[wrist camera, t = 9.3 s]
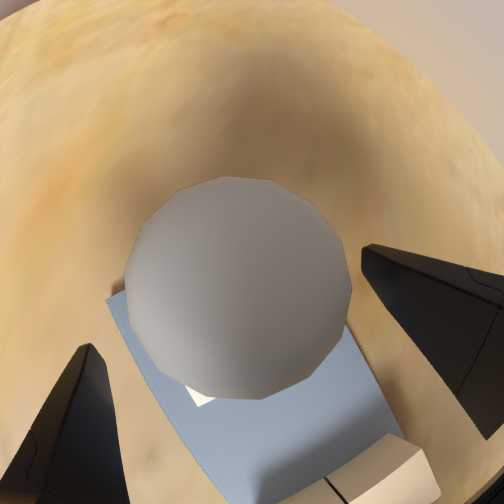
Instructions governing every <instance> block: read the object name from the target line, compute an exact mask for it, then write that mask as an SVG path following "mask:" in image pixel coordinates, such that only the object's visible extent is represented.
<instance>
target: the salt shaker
mask: <svg viewBox="0 0 504 504" xmlns="http://www.w3.org/2000/svg"><path fill="white" fill-rule="evenodd" d="M124 282H125V291H126V300H127V308H128V316H129V323H130V326H131V328H132V329H133V331H134V332H135V334H136V336H137V337H138V339H139V341H140V342H141V344H142V345H143V347H144V349H145V350H146V352H147V353H148V355H149V356H150V358H151V359H152V361H153V362H154V364H155V365H156V367H157V368H158V370H159V371H161V372H163V373H164V374H166V375H168V376H170V377H171V378H173V379H175V380H177V381H178V382H180V383H182V384H184V385H185V386H187V387H189V388H191V389H193V390H195V391H196V392H198V393H200V394H202V395H204V396H206V397H215V398H229V399H248V400H262V399H264V398H267V397H269V396H271V395H273V394H276V393H278V392H280V391H282V390H284V389H286V388H289V387H291V386H293V385H295V384H297V383H299V382H301V381H303V380H305V379H307V378H309V377H310V376H311V375H312V374H313V372H314V371H315V370H316V369H317V368H318V367H319V365H320V364H321V363H322V362H323V361H324V359H325V358H326V357H327V356H328V354H329V353H330V352H331V351H332V350H333V348H334V347H335V346H336V345H337V343H338V342H339V341H340V339H341V338H342V335H343V331H344V326H345V322H346V317H347V312H348V308H349V303H350V298H351V293H352V285H351V280H350V276H349V271H348V266H347V262H346V257H345V253H344V248H343V244H342V241H341V239H340V238H339V237H338V236H337V234H336V233H335V232H334V230H333V229H332V228H331V226H330V225H329V224H328V223H327V221H326V220H325V219H324V217H323V216H322V215H321V214H320V212H319V211H318V210H317V209H316V207H315V206H314V205H313V204H312V203H311V202H309V201H307V200H306V199H304V198H302V197H300V196H299V195H297V194H295V193H293V192H292V191H290V190H288V189H286V188H284V187H283V186H281V185H279V184H277V183H275V182H274V181H272V180H267V179H256V178H244V177H230V176H221V177H218V178H215V179H212V180H209V181H206V182H203V183H200V184H197V185H194V186H191V187H188V188H185V189H182V190H179V191H177V192H176V193H174V194H173V195H172V196H171V197H170V198H169V199H168V200H167V201H166V202H165V203H164V204H163V205H162V206H161V207H160V208H159V209H158V210H157V211H156V212H155V213H154V214H153V215H152V216H151V217H150V218H149V219H148V220H147V221H146V222H145V223H144V224H143V225H142V226H141V229H140V231H139V234H138V236H137V239H136V241H135V244H134V246H133V249H132V252H131V254H130V257H129V259H128V262H127V265H126V268H125V270H124Z"/></svg>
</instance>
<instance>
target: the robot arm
mask: <svg viewBox="0 0 504 504" xmlns="http://www.w3.org/2000/svg"><path fill="white" fill-rule="evenodd" d="M361 270H362V273H363V275H364V276H365V278H366V279H367V281H368V282H369V284H370V285H371V287H372V288H373V290H374V291H375V293H376V294H377V296H378V297H379V299H380V300H381V302H382V303H383V304H384V306H385V307H386V308H387V310H388V311H389V312H390V313H391V315H392V316H393V317H394V318H395V320H396V321H397V322H398V323H399V324H400V326H401V327H402V328H403V329H404V331H405V332H406V333H407V334H408V336H409V337H410V338H411V339H412V341H413V342H414V343H415V344H416V346H417V347H418V348H419V349H420V351H421V352H422V353H423V355H424V356H425V357H426V358H427V360H428V361H429V362H430V364H431V365H432V366H433V367H434V369H435V370H436V371H437V373H438V374H439V375H440V377H441V378H442V379H443V381H444V382H445V383H446V385H447V386H448V387H449V389H450V390H451V392H452V393H453V394H454V395H455V397H456V399H457V400H458V401H459V403H460V404H461V406H462V407H463V408H464V410H465V411H466V413H467V414H468V415H469V417H470V418H471V420H472V421H473V423H474V424H475V426H476V427H477V428H478V430H479V431H480V433H481V434H482V436H483V437H484V438H485V440H488V439H489V438H490V437H491V436H492V435H493V434H494V433H495V432H496V431H497V430H498V429H499V427H500V426H501V425H502V424H503V423H504V276H503V275H498V274H494V273H489V272H485V271H481V270H477V269H473V268H469V267H464V266H462V265H458V264H454V263H450V262H446V261H442V260H438V259H435V258H431V257H427V256H423V255H419V254H415V253H411V252H407V251H402V250H398V249H394V248H390V247H386V246H382V245H377V244H370V245H367V246H365V247H363V248H362V252H361ZM0 504H130V500H129V496H128V491H127V486H126V481H125V476H124V471H123V465H122V459H121V453H120V446H119V440H118V432H117V424H116V416H115V408H114V403H113V398H112V393H111V388H110V383H109V377H108V372H107V366H106V363H105V361H104V359H103V358H102V357H101V355H100V354H99V352H98V351H97V350H96V348H95V347H94V346H93V344H91V343H87V344H84V345H81V346H79V347H78V349H77V350H76V352H75V353H74V355H73V356H72V358H71V360H70V361H69V363H68V364H67V366H66V368H65V369H64V371H63V372H62V374H61V376H60V377H59V379H58V381H57V382H56V384H55V386H54V387H53V389H52V391H51V392H50V394H49V396H48V397H47V399H46V401H45V402H44V404H43V406H42V408H41V409H40V411H39V413H38V415H37V417H36V418H35V420H34V422H33V424H32V426H31V430H29V431H28V433H27V435H26V437H25V439H24V440H23V442H22V444H21V446H20V448H19V450H18V451H17V453H16V455H15V456H14V458H13V460H12V462H11V463H10V465H9V467H8V468H7V470H6V472H5V473H4V475H3V477H2V478H1V480H0ZM464 504H504V466H503V467H502V468H501V469H500V470H499V471H498V472H497V473H496V474H495V475H494V476H493V477H492V478H491V479H490V480H489V481H488V482H487V483H486V484H485V485H484V486H483V487H482V488H481V489H480V490H479V491H478V492H476V493H475V494H474V495H473V496H472V497H471V498H470V499H469V500H467V501H466V502H465V503H464Z"/></svg>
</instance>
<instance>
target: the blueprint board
mask: <svg viewBox="0 0 504 504" xmlns="http://www.w3.org/2000/svg"><path fill="white" fill-rule="evenodd" d="M106 302H107V304H108V307H109V309H110V311H111V313H112V316H113V318H114V320H115V322H116V324H117V326H118V329H119V331H120V333H121V335H122V337H123V339H124V341H125V343H126V345H127V347H128V349H129V351H130V353H131V355H132V357H133V359H134V361H135V363H136V364H137V366H138V368H139V370H140V372H141V374H142V376H143V377H144V379H145V381H146V383H147V385H148V386H149V388H150V390H151V392H152V393H153V395H154V397H155V398H156V400H157V402H158V404H159V405H160V407H161V409H162V410H163V412H164V413H165V415H166V417H167V418H168V420H169V421H170V423H171V425H172V426H173V428H174V429H175V431H176V432H177V434H178V435H179V437H180V438H181V440H182V441H183V443H184V444H185V446H186V447H187V449H188V450H189V452H190V453H191V454H192V456H193V457H194V459H195V460H196V462H197V463H198V464H199V466H200V467H201V468H202V470H203V471H204V472H205V474H206V475H207V476H208V478H209V479H210V480H211V482H212V483H213V484H214V486H215V487H216V488H217V489H218V491H219V492H220V493H221V494H222V496H223V497H224V498H225V499H226V501H227V502H228V503H229V504H432V503H433V502H434V501H435V500H436V499H437V498H438V497H440V496H441V495H442V493H441V491H440V489H439V486H438V484H437V482H436V479H435V477H434V475H433V472H432V470H431V468H430V465H429V463H428V461H427V459H426V456H425V454H424V452H423V450H422V448H420V447H418V446H416V445H414V444H411V443H409V442H407V440H406V438H405V436H404V434H403V432H402V430H401V428H400V426H399V424H398V422H397V420H396V418H395V416H394V414H393V412H392V410H391V408H390V406H389V404H388V402H387V400H386V399H385V397H384V395H383V393H382V391H381V389H380V387H379V385H378V383H377V381H376V379H375V377H374V376H373V374H372V372H371V370H370V368H369V366H368V364H367V362H366V361H365V359H364V357H363V355H362V353H361V351H360V349H359V348H358V346H357V344H356V342H355V340H354V338H353V337H352V335H351V333H350V331H349V329H348V328H347V326H346V324H345V326H344V331H343V335H342V338H341V339H340V341H339V342H338V343H337V345H336V346H335V347H334V348H333V350H332V351H331V352H330V353H329V354H328V356H327V357H326V358H325V359H324V361H323V362H322V363H321V364H320V365H319V367H318V368H317V369H316V370H315V371H314V372H313V374H312V375H311V376H310V377H309V378H307V379H305V380H303V381H301V382H299V383H297V384H295V385H293V386H291V387H289V388H286V389H284V390H282V391H280V392H278V393H276V394H273V395H271V396H269V397H267V398H264V399H262V400H248V399H229V398H215V397H206V396H204V395H202V394H200V393H198V392H196V391H195V390H193V389H191V388H189V387H187V386H185V385H184V384H182V383H180V382H178V381H177V380H175V379H173V378H171V377H170V376H168V375H166V374H164V373H163V372H161V371H159V370H158V368H157V367H156V365H155V364H154V362H153V361H152V359H151V358H150V356H149V355H148V353H147V352H146V350H145V349H144V347H143V345H142V344H141V342H140V341H139V339H138V337H137V336H136V334H135V332H134V331H133V329H132V328H131V326H130V323H129V316H128V308H127V300H126V291H125V289H124V290H123V291H121V292H119V293H117V294H115V295H113V296H111V297H110V298H108V299H106Z"/></svg>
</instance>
